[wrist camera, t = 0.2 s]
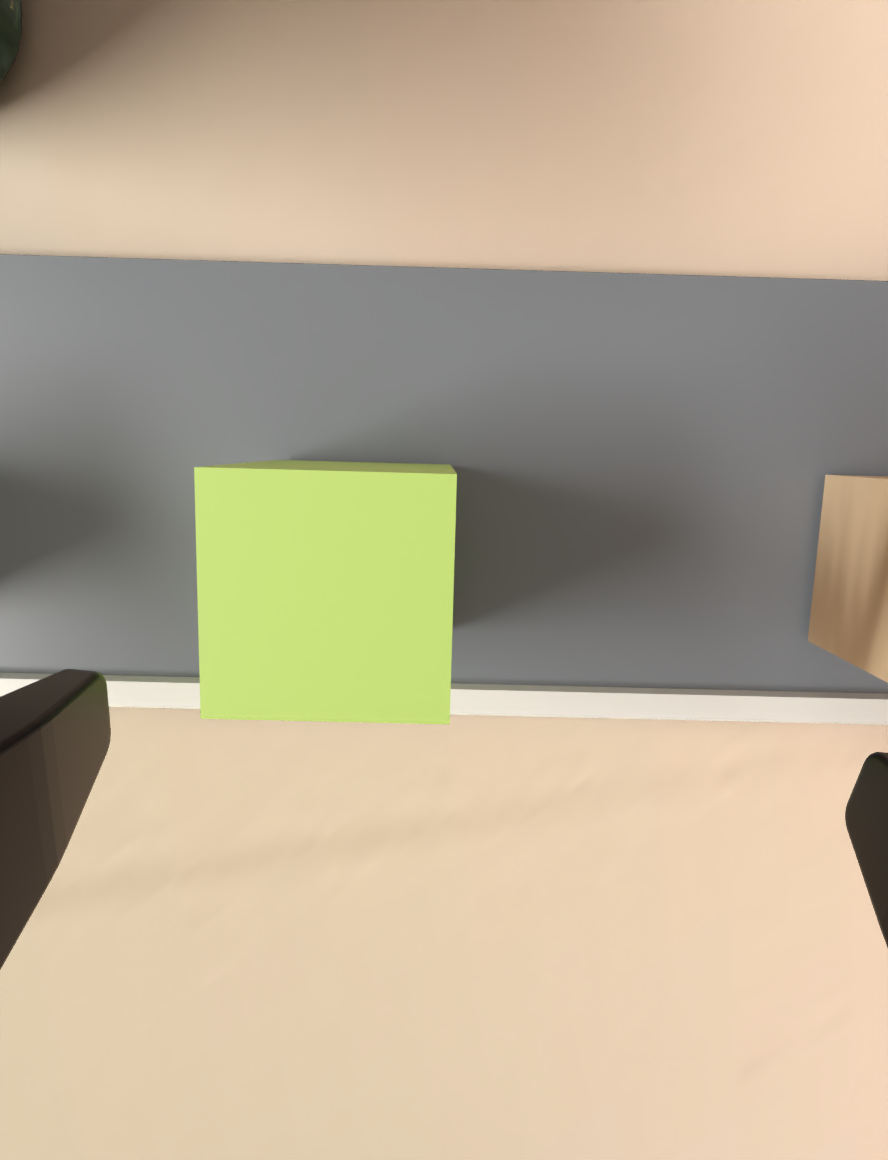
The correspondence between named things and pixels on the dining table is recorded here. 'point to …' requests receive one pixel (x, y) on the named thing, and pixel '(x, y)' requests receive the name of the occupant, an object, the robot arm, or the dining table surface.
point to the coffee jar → (9, 33)
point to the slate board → (474, 450)
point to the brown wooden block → (853, 573)
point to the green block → (325, 590)
